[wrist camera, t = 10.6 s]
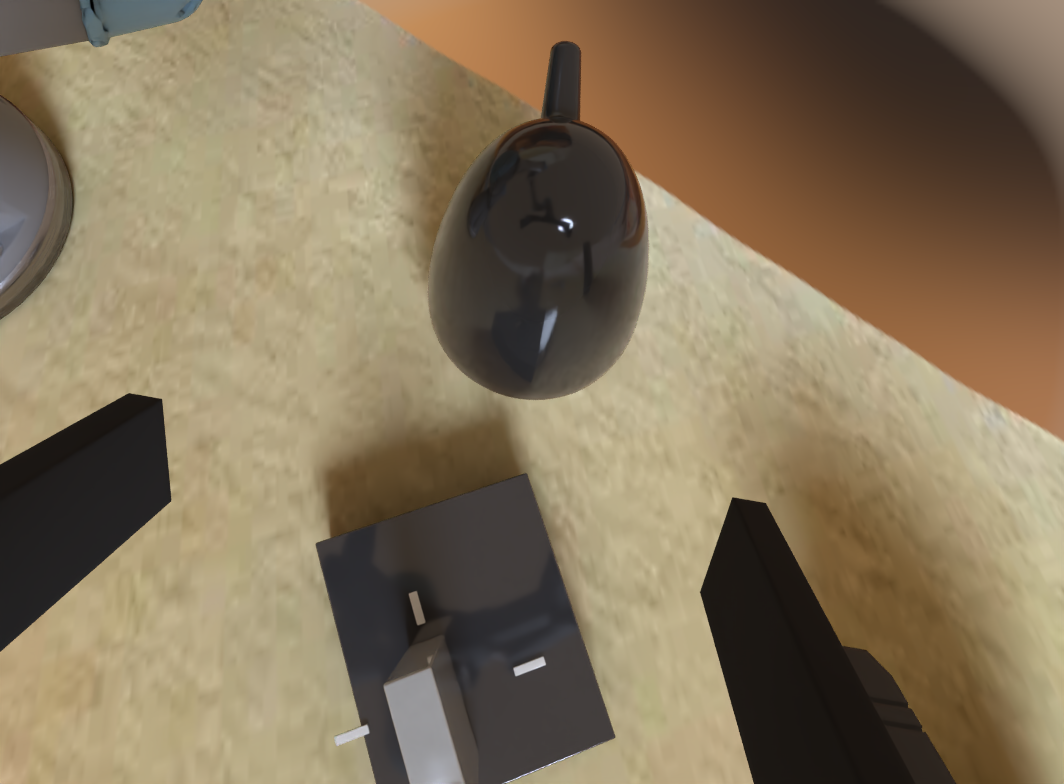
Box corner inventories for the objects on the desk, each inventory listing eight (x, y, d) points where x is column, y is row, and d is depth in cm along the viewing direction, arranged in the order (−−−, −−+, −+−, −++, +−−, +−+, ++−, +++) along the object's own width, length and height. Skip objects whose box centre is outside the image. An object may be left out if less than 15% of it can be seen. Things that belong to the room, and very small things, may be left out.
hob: (308, 550, 29) (288, 551, 26) (522, 478, 31) (527, 472, 28) (377, 826, 27) (364, 863, 24) (606, 731, 28) (622, 754, 25)
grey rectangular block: (407, 646, 26) (380, 686, 19) (443, 633, 26) (430, 667, 19) (442, 768, 25) (427, 857, 18) (479, 753, 25) (479, 835, 18)
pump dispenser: (620, 247, 35) (722, 31, 20) (616, 422, 32) (731, 322, 17) (444, 231, 34) (415, -5, 19) (426, 408, 31) (377, 292, 17)
